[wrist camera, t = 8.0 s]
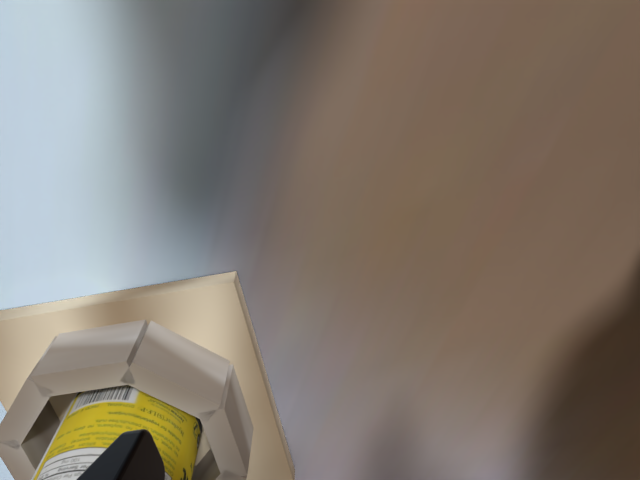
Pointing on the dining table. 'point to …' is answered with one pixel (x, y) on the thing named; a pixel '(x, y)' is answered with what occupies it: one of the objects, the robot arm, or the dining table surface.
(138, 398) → the supplement bottle
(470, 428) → the dining table surface
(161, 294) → the octagonal ring stand
